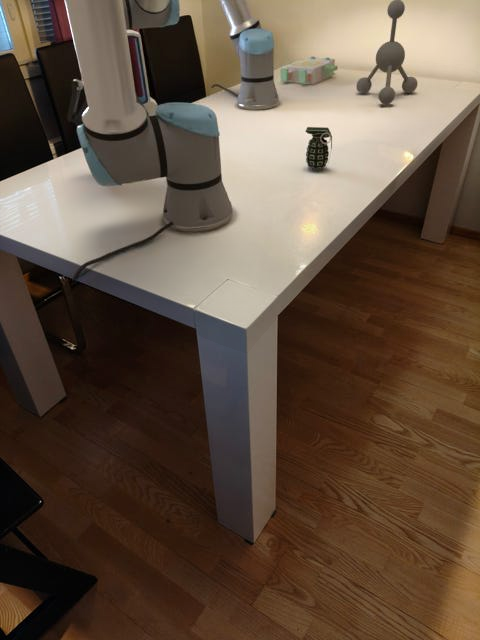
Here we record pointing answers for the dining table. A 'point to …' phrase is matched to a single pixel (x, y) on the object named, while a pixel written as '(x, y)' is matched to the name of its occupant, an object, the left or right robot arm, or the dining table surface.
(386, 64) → the molecular model
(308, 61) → the decorative block
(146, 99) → the electronic device
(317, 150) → the grenade
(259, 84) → the right robot arm
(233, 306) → the dining table surface
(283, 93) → the dining table surface
